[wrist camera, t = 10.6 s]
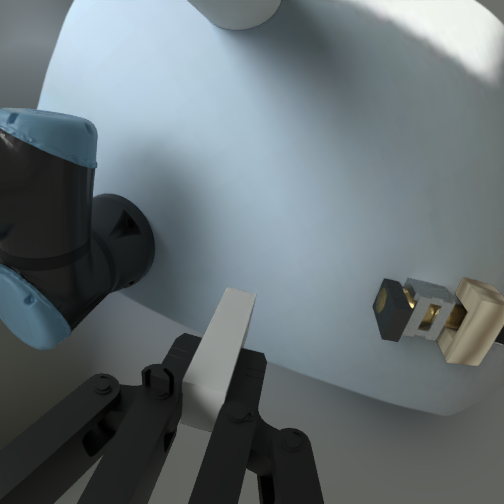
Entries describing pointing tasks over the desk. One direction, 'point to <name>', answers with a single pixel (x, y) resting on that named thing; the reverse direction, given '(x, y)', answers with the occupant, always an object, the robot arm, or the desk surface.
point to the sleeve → (425, 297)
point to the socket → (473, 324)
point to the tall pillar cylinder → (236, 12)
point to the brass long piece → (405, 311)
